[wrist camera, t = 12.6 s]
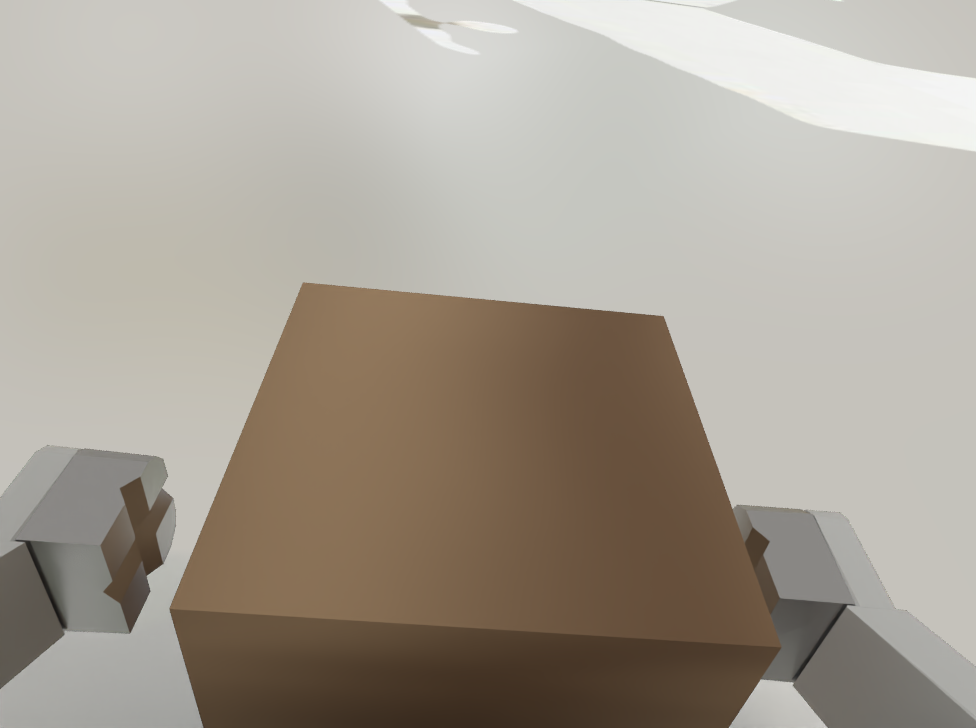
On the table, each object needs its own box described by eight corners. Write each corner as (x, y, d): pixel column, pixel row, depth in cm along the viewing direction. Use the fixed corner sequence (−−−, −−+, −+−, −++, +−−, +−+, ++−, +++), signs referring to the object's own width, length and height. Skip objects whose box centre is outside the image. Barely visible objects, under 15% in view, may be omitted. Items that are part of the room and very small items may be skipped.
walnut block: (270, 958, 12) (168, 609, 6) (326, 670, 16) (302, 282, 10) (568, 968, 12) (782, 646, 6) (548, 682, 16) (663, 316, 10)
